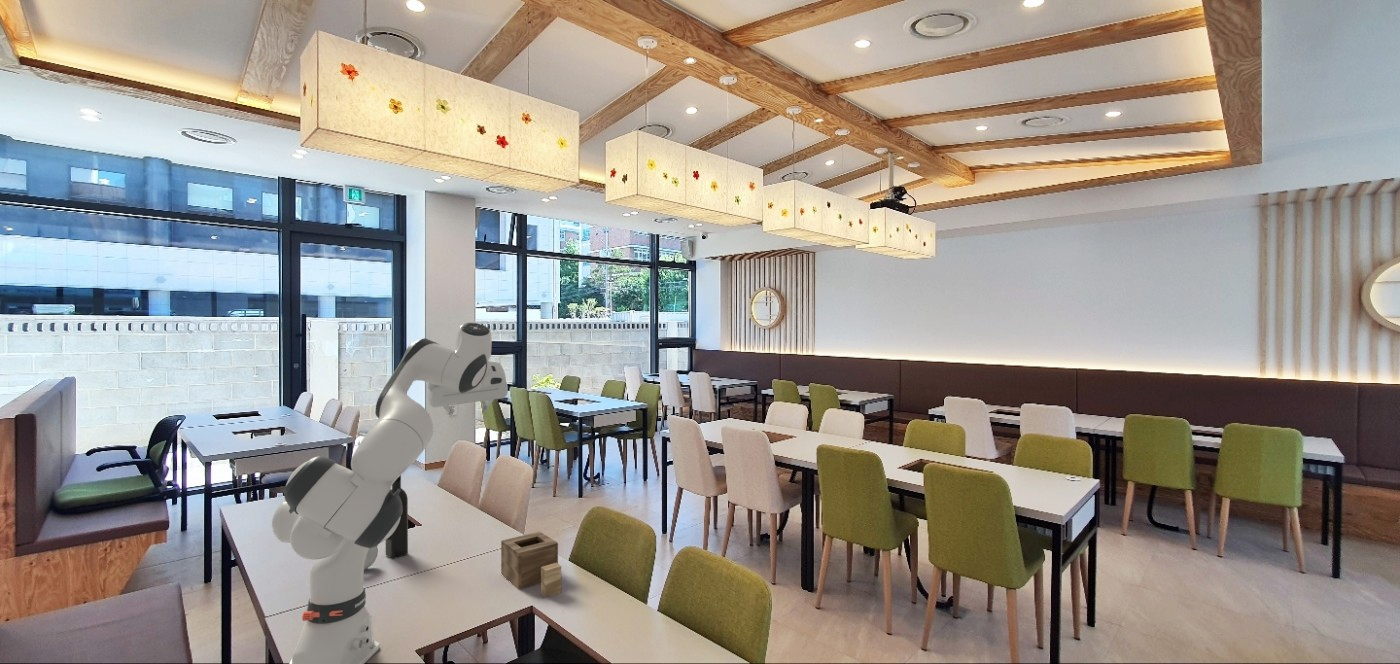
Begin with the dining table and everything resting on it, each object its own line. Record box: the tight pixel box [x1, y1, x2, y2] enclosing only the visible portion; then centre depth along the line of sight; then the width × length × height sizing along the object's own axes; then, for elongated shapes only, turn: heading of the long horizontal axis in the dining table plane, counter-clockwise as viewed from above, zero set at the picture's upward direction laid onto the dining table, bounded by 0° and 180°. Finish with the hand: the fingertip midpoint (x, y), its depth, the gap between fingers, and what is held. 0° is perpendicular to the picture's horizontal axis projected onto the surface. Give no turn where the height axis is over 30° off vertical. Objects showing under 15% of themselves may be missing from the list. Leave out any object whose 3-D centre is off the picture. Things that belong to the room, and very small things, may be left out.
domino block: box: [540, 562, 562, 598], centre depth 179 cm, size 3×5×8 cm, turn 130°
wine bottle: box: [385, 474, 409, 559], centre depth 206 cm, size 6×6×30 cm
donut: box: [364, 545, 379, 571], centre depth 193 cm, size 10×4×10 cm, turn 143°
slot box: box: [500, 531, 559, 590], centre depth 190 cm, size 13×13×11 cm
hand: (467, 410), depth 168 cm, fingers open, 8 cm apart
